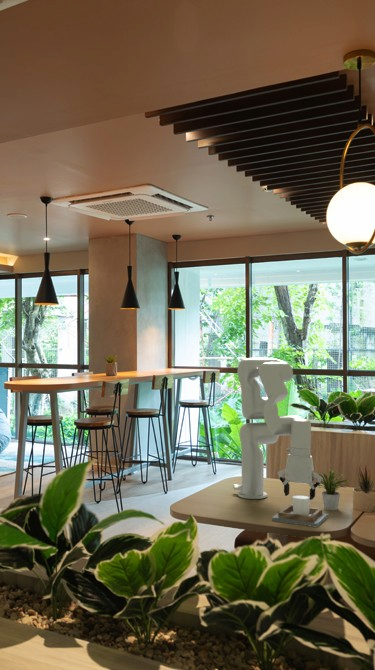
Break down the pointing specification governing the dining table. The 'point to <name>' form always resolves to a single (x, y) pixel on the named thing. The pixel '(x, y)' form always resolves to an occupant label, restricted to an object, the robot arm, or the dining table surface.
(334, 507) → the house plant
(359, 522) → the dining table surface
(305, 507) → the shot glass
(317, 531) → the dining table surface
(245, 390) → the robot arm
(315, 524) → the tray
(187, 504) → the dining table surface
